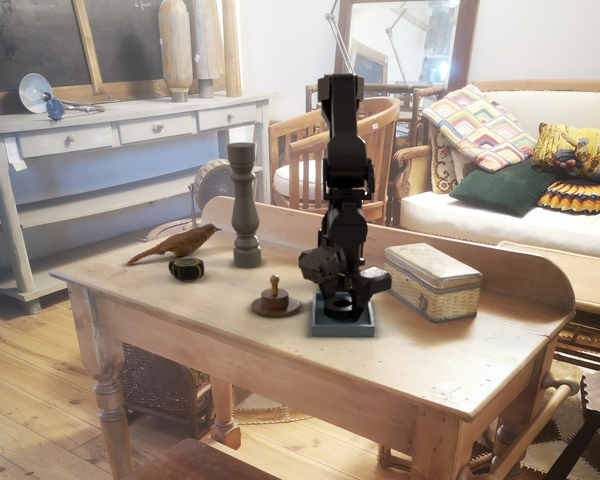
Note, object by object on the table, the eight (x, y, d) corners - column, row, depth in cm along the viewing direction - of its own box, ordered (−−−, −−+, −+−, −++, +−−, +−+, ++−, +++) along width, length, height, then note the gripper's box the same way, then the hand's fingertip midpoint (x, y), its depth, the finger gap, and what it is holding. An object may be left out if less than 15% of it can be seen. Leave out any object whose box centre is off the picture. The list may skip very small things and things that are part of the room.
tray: (313, 301, 115) (313, 292, 114) (368, 302, 115) (369, 292, 114) (311, 336, 102) (311, 325, 101) (374, 336, 102) (375, 326, 101)
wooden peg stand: (254, 298, 117) (252, 266, 113) (299, 298, 116) (299, 267, 113) (249, 317, 109) (247, 284, 106) (298, 318, 109) (297, 284, 105)
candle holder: (257, 268, 131) (251, 147, 118) (230, 267, 132) (221, 146, 119) (264, 259, 136) (259, 142, 123) (238, 258, 137) (231, 141, 124)
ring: (323, 305, 111) (323, 296, 110) (359, 305, 111) (359, 296, 110) (323, 320, 105) (323, 310, 104) (360, 320, 105) (361, 310, 104)
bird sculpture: (126, 271, 137) (119, 251, 134) (217, 234, 148) (213, 214, 144) (138, 280, 133) (131, 259, 130) (231, 241, 143) (227, 221, 140)
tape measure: (200, 271, 130) (198, 254, 128) (209, 281, 125) (207, 263, 123) (169, 275, 128) (167, 258, 126) (177, 286, 123) (174, 268, 121)
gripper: (273, 226, 102) (276, 310, 110) (345, 253, 90) (342, 346, 98) (322, 215, 108) (322, 295, 116) (397, 239, 95) (390, 327, 104)
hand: (341, 315), depth 108 cm, fingers closed on ring, 7 cm apart
